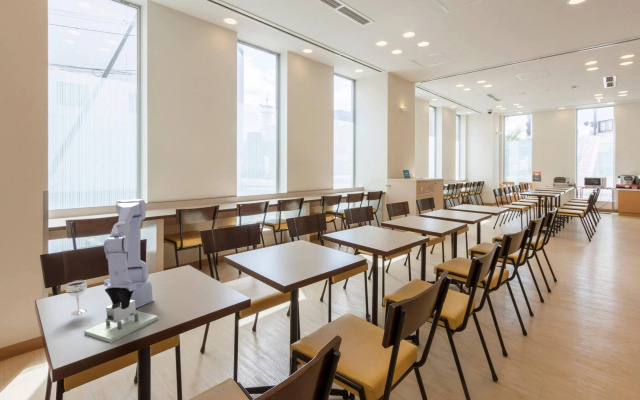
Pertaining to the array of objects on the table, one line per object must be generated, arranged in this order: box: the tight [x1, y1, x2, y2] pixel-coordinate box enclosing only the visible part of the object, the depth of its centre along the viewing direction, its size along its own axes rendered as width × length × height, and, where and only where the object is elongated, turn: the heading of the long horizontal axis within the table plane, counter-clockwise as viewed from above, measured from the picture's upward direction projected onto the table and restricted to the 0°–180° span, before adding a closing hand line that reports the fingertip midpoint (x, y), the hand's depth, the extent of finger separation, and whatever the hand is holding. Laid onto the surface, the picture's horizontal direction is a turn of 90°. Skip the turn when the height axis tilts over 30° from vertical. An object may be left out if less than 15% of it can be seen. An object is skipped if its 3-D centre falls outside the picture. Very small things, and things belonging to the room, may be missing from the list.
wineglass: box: [65, 279, 88, 316], centre depth 131 cm, size 7×7×12 cm
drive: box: [105, 300, 137, 323], centre depth 118 cm, size 8×4×5 cm, turn 156°
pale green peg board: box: [83, 310, 159, 343], centre depth 119 cm, size 18×14×4 cm
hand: (121, 307), depth 118 cm, fingers closed on drive, 4 cm apart
